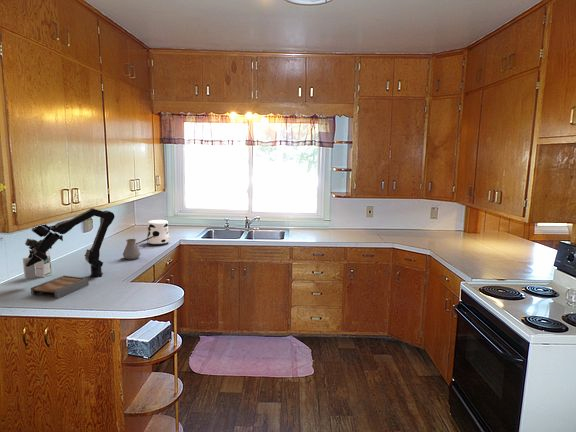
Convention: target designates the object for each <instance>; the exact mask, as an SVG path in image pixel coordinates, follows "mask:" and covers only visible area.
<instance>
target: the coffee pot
mask: <svg viewBox="0 0 576 432" xmlns="http://www.w3.org/2000/svg"><path fill="white" fill-rule="evenodd" d="M152 237H154V236H152ZM152 237H150V238H152ZM150 238H147V237H146V238H145V239H143V240H140V241H138V242H137V239H136V238H128V239H125V240H126V241H125V242H126V245H125V248H124V250H123V252H122V256H123V258H124V259H126V260H137V259H138V258H139V257H140V256H141V252H140V249H139V247H138V244H140V243H141V244H142V243H143V242H146V241H147V240H149V239H150ZM154 238H155V237H154Z"/></svg>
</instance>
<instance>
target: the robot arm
mask: <svg viewBox="0 0 576 432" xmlns="http://www.w3.org/2000/svg"><path fill="white" fill-rule="evenodd" d="M92 217H97V218H100V219H99V227H98V230H97V232H96V236H95V238H94V240H93V243H92V246H91V248H90V249H86V250H85V251H86V252H85V254H84V260H85V261H86V262H87V263H88V264H89V265H90V274H89V278H97V277H100V278H101V277H103V275H104V272H102V267H103V265H104V262H103V261H101V260H100V255H101V253H100V249H101V246H102V245H103V242H104V239H105V236H106V234H107V231H108V228H109V226H110V225H111V224H112V223H113V221H114V220H115V214H114V212H112V211H109V210H100V209H96V208H89V209H88V210H86V211H85V212H82V213H80V214H78V215H76V216H74V217H72V218H70V219H66V220H62V221H59V222H57V223H55V224H54V225H50V226H48V225H47V224H46V223H45V225H41V226H38V227H35V228H33V227H32V228H31V232H33V233H35V234H36V235H37V236H39V237H40V238H42V237H44V238H43V239H39V241H38V240H37V239H33V238H26V240H25V243H24V244H25V246H27V247H28V252H29V254H28V256H27V258H29V257H32V258H31V259H30V260H29V262H28V263H27V265H26V266H27V267H29V266H31V265H33V264H35V263H37V262H40V261H42V260H44V261H45V260H46V259H47V255H46V252H47V251H50V250H51V249H53V246H54V245H55V244H56V243H57V241H59V240H60V241H61V242H63V241H64V239H63V238H64V237H63V235H65V234H66V233H68V232H70V231H71V230H72V229H73V228H74V227H75V226H78V225H79V224H81V223H82V222H85V221H86V220H87V221H88V220H89V219H91V218H92Z"/></svg>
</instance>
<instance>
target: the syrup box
mask: <svg viewBox="0 0 576 432" xmlns="http://www.w3.org/2000/svg"><path fill="white" fill-rule="evenodd" d="M46 255H47V259H46V260H45V261H44V260H42V261H40V262H37V263H35V274H36V277H38V278H45V277H49V276H50V275H52V263H51V252H50V250H48V251H47V252H46Z"/></svg>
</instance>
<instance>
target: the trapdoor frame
mask: <svg viewBox="0 0 576 432" xmlns="http://www.w3.org/2000/svg"><path fill="white" fill-rule="evenodd" d="M62 277H66V278H75V279H82V280H80V281H77V282H75V283H72V284H70V285H68V286H65V287H63V288H60V289H58V290H55V291H54V293H53V294H54V299H56V300H58V299H60V298H63V297H65V296H67V295H69V294H72V293H74V292H76V291H78V290H81V289H83V288H86V287H88V286H89V285H90V284H89V277H80V276H73V275H62V276H59V277H56V278H54V279H51V280H48V281H46V282H43V283H41V284H37V285H34V286H33V287H30V295H33V296H32V297H35V296H38V295H40V294H42V293H44V291H36V290H34V288H36V287H39V286H41V285H44V284H47V283H49V282H52V281H54V280H57V279H60V278H62ZM39 293H40V294H39ZM34 295H35V296H34Z"/></svg>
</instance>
